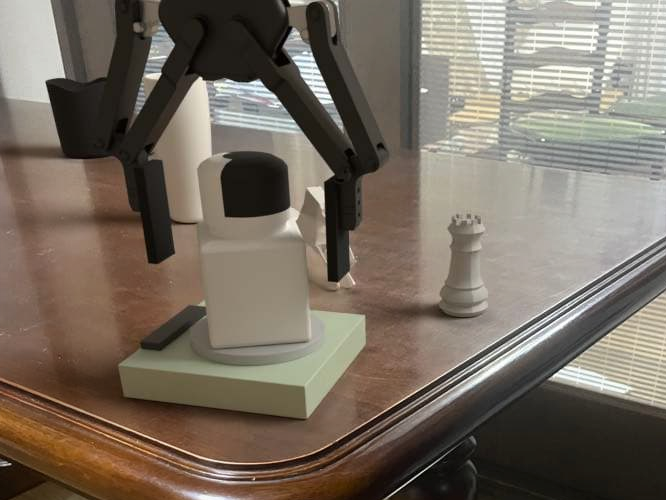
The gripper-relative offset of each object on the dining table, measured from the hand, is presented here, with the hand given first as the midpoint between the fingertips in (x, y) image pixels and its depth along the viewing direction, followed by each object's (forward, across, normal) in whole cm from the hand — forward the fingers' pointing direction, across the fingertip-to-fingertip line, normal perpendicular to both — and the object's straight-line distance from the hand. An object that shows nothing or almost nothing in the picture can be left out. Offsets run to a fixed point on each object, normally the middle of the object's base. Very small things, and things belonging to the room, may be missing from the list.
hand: (248, 267), depth 63 cm
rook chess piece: (+8, -13, -17) cm, 23 cm away
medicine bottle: (+5, 0, 0) cm, 5 cm away
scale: (+8, 0, 0) cm, 8 cm away
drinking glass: (+8, +24, -39) cm, 47 cm away
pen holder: (+9, +56, -70) cm, 90 cm away
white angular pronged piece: (+8, +4, -26) cm, 28 cm away
